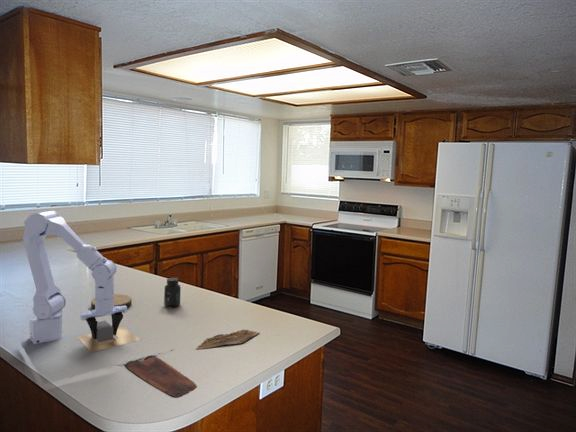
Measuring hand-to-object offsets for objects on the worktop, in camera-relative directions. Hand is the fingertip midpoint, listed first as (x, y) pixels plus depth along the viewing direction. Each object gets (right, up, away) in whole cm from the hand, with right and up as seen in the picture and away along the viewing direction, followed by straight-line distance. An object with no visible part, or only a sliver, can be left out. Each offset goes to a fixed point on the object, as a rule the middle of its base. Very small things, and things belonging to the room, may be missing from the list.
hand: (104, 336), depth 142 cm
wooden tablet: (+25, -7, -20) cm, 33 cm away
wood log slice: (-14, +2, +38) cm, 40 cm away
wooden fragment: (+41, -4, +8) cm, 42 cm away
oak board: (+1, -2, +1) cm, 3 cm away
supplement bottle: (+11, +1, +42) cm, 43 cm away
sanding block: (-1, -1, 0) cm, 1 cm away
